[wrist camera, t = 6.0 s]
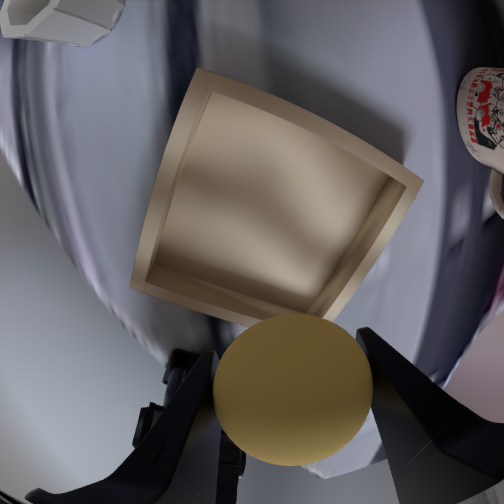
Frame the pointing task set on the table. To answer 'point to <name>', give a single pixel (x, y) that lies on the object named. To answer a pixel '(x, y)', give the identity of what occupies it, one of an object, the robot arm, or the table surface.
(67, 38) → the cup
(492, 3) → the table surface
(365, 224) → the tray
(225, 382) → the ball
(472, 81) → the teacup with lid
